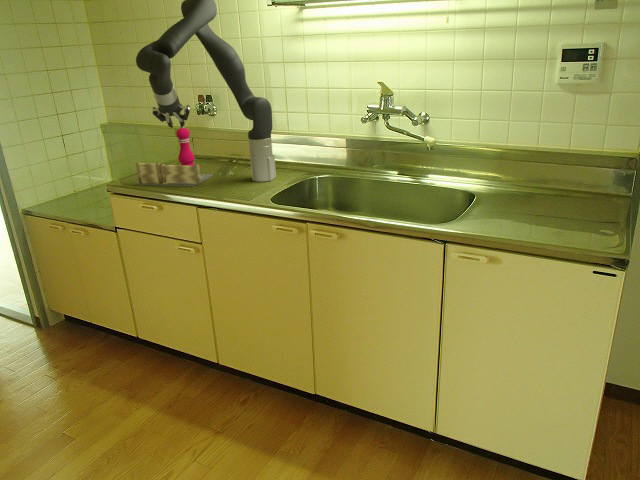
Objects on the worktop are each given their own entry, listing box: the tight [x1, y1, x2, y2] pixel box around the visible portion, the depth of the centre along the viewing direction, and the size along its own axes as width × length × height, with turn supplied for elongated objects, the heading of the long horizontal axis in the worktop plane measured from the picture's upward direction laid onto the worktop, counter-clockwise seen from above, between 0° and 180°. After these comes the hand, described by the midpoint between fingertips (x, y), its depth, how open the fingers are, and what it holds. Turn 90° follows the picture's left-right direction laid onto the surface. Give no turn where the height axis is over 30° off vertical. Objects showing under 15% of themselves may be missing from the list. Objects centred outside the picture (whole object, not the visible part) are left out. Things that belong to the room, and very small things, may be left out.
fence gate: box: [160, 163, 202, 185], centre depth 223 cm, size 17×2×8 cm, turn 74°
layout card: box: [133, 173, 214, 188], centre depth 233 cm, size 28×18×1 cm, turn 74°
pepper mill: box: [175, 125, 195, 166], centre depth 250 cm, size 7×7×20 cm
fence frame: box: [135, 161, 163, 184], centre depth 227 cm, size 11×2×9 cm, turn 74°
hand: (177, 125), depth 204 cm, fingers open, 3 cm apart
